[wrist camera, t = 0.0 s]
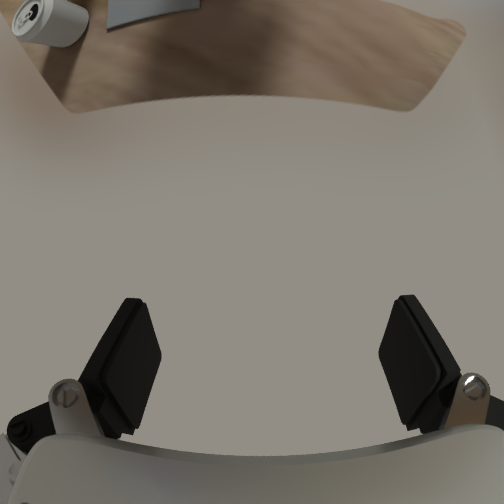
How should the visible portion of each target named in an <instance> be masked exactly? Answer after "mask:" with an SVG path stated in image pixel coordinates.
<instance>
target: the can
mask: <svg viewBox="0 0 504 504" xmlns="http://www.w3.org/2000/svg"><path fill="white" fill-rule="evenodd" d="M88 19H89V15H88V11H87V10H86V9H85V8H83V7H81V6H79V5H76V4H74V3H72V2H69V1H66V0H26V1H25V2H24V3H23V4H22V5H21V7H20V8H19V9H18V11H17V13H16V14H15V17H14V19H13V22H12V33H13V35H14V36H16V37H17V39H18V40H19V41H21V42H28V43H36V44H43V45H49V46H55V47H67V46H70V45H72V44H73V43H74V42H76V41H77V40H78V39H79V38H80V37H81V36H82V34H83V32H84V31H85V29H86V27H87V24H88Z"/></svg>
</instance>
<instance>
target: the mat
mask: <svg viewBox="0 0 504 504" xmlns="http://www.w3.org/2000/svg"><path fill="white" fill-rule="evenodd" d="M194 9H200V0H108V12H107V29H111V28H114V27H117V26H121V25H124V24H127V23H131V22H135V21H139V20H143V19H147V18H151V17H155V16H160V15H165V14H170V13H175V12H181V11H187V10H194Z"/></svg>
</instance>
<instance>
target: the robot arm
mask: <svg viewBox="0 0 504 504" xmlns="http://www.w3.org/2000/svg"><path fill="white" fill-rule="evenodd" d="M379 359H380V362H381V364H382V367H383V370H384V373H385V375H386V378H387V381H388V383H389V386H390V389H391V392H392V395H393V398H394V401H395V404H396V407H397V410H398V413H399V416H400V419H401V422H402V423H403V424H404V425H405V424H406V427H407V430H408V431H410V430H413V429H417V428H420V431H421V435H419V436H415V437H411V438H407V439H403V440H399V441H394V442H390V443H385V444H381V445H375V446H370V447H364V448H358V449H352V450H345V451H337V452H328V453H319V454H307V455H291V456H233V455H215V454H204V453H194V452H185V451H177V450H171V449H164V448H158V447H152V446H146V445H141V444H135V443H130V442H126V441H121V440H120V437H121V434H122V433H125V434H129V435H133V434H134V430H135V429H138V428H139V426H140V423H141V420H142V417H143V414H144V411H145V407H146V404H147V401H148V398H149V395H150V392H151V389H152V386H153V383H154V379H155V376H156V374H157V370H158V368H159V365H160V361H161V351H160V347H159V344H158V341H157V338H156V335H155V331H154V328H153V325H152V321H151V318H150V315H149V312H148V308H147V305H146V303H143V302H142V300H141V299H139V298H126V299H125V300H124V302H123V303H122V305H121V306H120V308H119V310H118V311H117V313H116V315H115V316H114V318H113V320H112V321H111V323H110V325H109V326H108V328H107V330H106V331H105V333H104V335H103V336H102V338H101V340H100V341H99V343H98V345H97V347H96V349H95V350H94V352H93V354H92V356H91V357H90V359H89V361H88V363H87V365H86V367H85V368H84V370H83V372H82V374H81V376H80V378H79V380H78V381H77V380H74V379H64V380H61V381H59V382H57V383H56V384H55V385H54V386H53V387H52V388H51V390H50V392H49V396H48V399H49V401H48V402H46V403H44V404H42V405H39V406H37V407H35V408H32V409H30V410H28V411H26V412H24V413H21V414H19V415H17V416H15V417H13V418H12V419H11V421H10V422H9V424H8V427H7V434H6V435H5V434H4V433H2V434H1V435H0V504H504V401H502V400H500V399H498V398H496V397H493V396H491V395H490V387H489V384H488V382H487V381H486V379H485V378H484V377H482V376H481V375H479V374H477V373H466V374H464V375H463V376H462V375H461V373H460V368H459V366H458V364H457V362H456V361H455V359H454V357H453V355H452V354H451V352H450V350H449V348H448V347H447V345H446V343H445V342H444V340H443V338H442V337H441V335H440V333H439V332H438V330H437V329H436V327H435V326H434V324H433V322H432V321H431V319H430V318H429V316H428V315H427V313H426V311H425V310H424V308H423V307H422V305H421V304H420V303H419V301H418V299H417V298H416V297H415V295H401V296H400V297H399V298H398V300H395V302H394V305H393V308H392V311H391V315H390V318H389V321H388V324H387V327H386V330H385V333H384V336H383V339H382V342H381V345H380V348H379Z"/></svg>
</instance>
